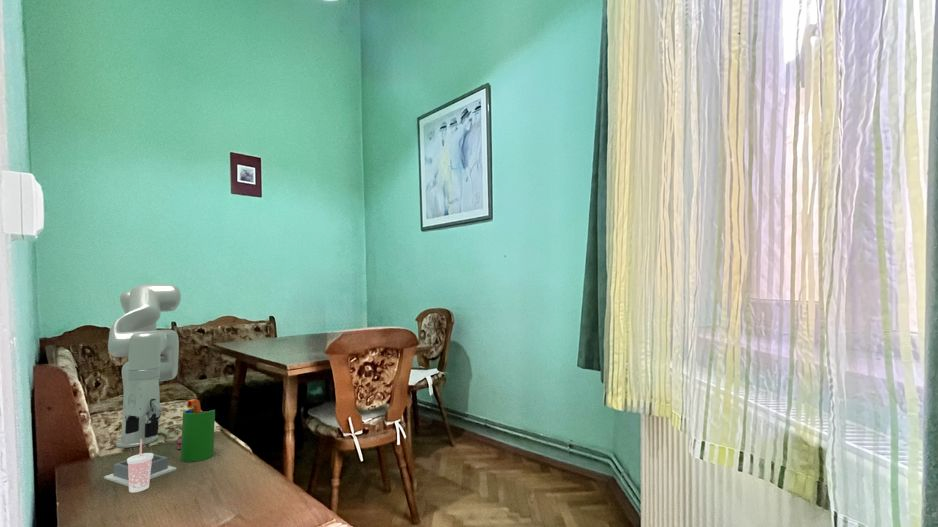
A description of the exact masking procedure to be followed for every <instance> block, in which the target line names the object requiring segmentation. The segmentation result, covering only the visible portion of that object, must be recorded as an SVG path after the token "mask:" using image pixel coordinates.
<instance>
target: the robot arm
mask: <svg viewBox="0 0 938 527" xmlns="http://www.w3.org/2000/svg"><path fill="white" fill-rule="evenodd" d="M181 296H182V295H181V291H180V289H179V287H178V286H177V285H175V284H168V283H165V284H161V283H160V284H157V283H155V284H154V283H153V284H151V283H147V284H139V285H136V286H134V287H133V288H132V289H129V290H126V291H123V292H122V293H121V294H120V298H119V300H120V306H121V308H122V311H123V312H124V314H122V315H121V316H120V317H118V318H117V319H116V320H115V321H114V322H113V324H112V325H111V327H110V329H109V333H108V340H107V349H108V353H109V354H110V356H112V357H114V358H125V357H128V358H127V359H128V361H126V362H125V363H123V365H122V367H121V378H122V388H123V399H122V400H123V402H122V403H123V404H122V421H121V423H122V424H121V425H122V426H121V431H120V435H121V439H120V440H117V441H116V443H115V447H117V448H123V449H124V448H134V447H140V439H142V446H144V445H148V444H151V443H154V442H155V441H157V440H158V439H159V435H158V434H159V421H160V418H161V415H162V411H163V406H162V405H161V404H160V403H161V402H160V400H161V399H160V395H161V394H160V382H167V381H171V380H174V379H175V378H176V377H177V376H178V370H179V351H180V350H179V346H180V345H179V344H180V340H179V334H178V333H177V331H175V330H173V329H159V330H157V322H158V321H159V320H160V318H161V314H162V313H161V312H174V311H175V310H177V309H178V307H179V305H180V303H181V300H182V299H181V298H182V297H181ZM161 355H163V356H161Z"/></svg>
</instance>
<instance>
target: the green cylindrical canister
mask: <svg viewBox="0 0 938 527" xmlns="http://www.w3.org/2000/svg"><path fill="white" fill-rule="evenodd" d="M186 404H187V405H186V406H187V408H189V409H186V410H184V411H183V412H182V423H181V425H182V426H181V435H182V442H181V449H180V461H181V462H183V463H184V462H186V463H188V462H189V463H191V462H198V461H204V460H207V459H209V458H212V457H213V456H214V445H215V425H216V424H215V423H216V422H215V421H216V409H211V410H209V411H206V410H205V411H204V410H203V411H202V410H201V402H200V400H199V399H198V398H197V399H196V398H195V399H193V398H192V399H190V400H187V403H186Z"/></svg>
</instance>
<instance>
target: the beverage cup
mask: <svg viewBox="0 0 938 527" xmlns="http://www.w3.org/2000/svg"><path fill="white" fill-rule="evenodd" d="M154 454H155V453H153V452H144V453H143V445H142V439H140V446H139V453H138V454H135V455H132V456H129V457H128V458H127V459H126V460H127V463H128V476H129V487H128V492H129V493H139V492H142V491H144V490H147V489H148V488H149V487H150V480H151V479H150V473H151V464H152V458H153V455H154Z"/></svg>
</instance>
